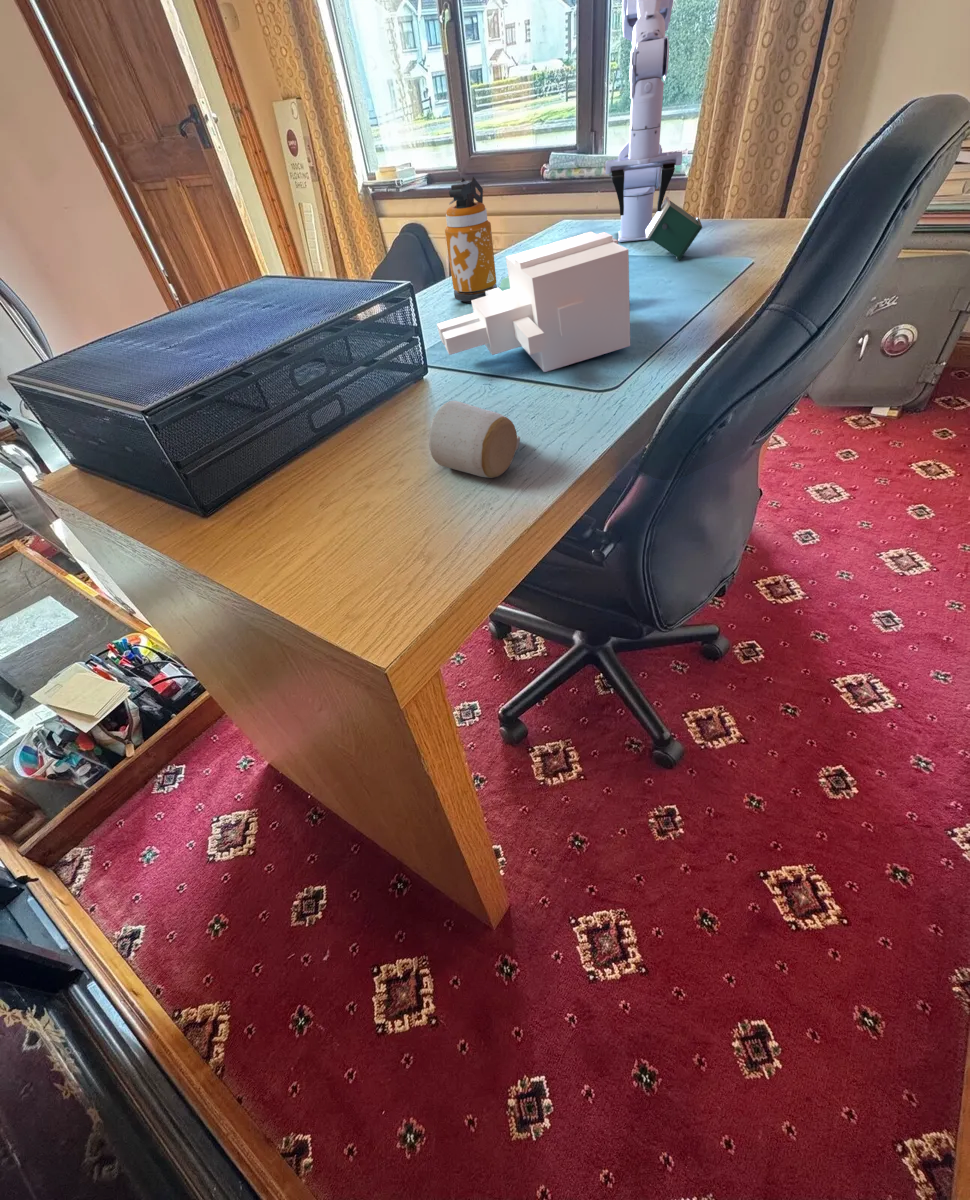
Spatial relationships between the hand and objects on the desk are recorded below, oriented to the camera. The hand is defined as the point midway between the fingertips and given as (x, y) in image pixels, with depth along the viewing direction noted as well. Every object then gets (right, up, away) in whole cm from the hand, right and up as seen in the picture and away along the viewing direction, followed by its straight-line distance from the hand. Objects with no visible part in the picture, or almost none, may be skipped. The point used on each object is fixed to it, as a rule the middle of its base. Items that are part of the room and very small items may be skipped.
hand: (640, 212), depth 117 cm
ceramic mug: (-33, -64, -48) cm, 86 cm away
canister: (-34, -17, +1) cm, 38 cm away
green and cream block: (+6, -5, +3) cm, 8 cm away
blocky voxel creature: (-24, -41, -26) cm, 54 cm away
